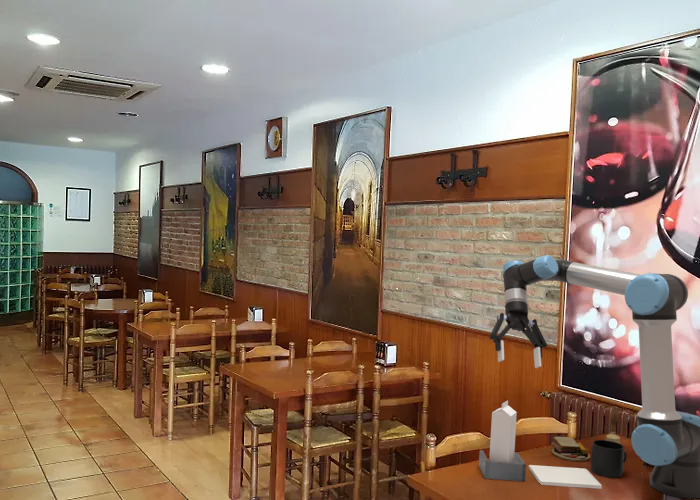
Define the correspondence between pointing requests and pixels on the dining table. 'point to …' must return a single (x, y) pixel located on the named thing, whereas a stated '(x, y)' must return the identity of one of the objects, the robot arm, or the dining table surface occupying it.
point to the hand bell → (613, 426)
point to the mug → (608, 458)
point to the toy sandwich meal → (569, 449)
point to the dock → (502, 468)
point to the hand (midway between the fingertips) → (519, 364)
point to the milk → (503, 434)
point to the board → (564, 476)
